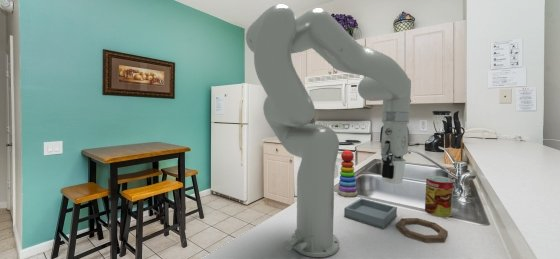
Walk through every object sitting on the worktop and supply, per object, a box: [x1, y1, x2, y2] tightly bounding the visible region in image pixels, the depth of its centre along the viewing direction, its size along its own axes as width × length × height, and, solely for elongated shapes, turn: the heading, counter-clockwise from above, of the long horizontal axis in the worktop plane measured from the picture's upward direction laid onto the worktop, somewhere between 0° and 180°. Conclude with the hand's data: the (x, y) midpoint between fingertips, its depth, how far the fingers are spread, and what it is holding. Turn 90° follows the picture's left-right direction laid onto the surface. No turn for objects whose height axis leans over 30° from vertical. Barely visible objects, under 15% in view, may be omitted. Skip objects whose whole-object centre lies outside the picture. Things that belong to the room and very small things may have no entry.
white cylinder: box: [381, 157, 406, 185], centre depth 76 cm, size 7×7×7 cm
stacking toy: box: [337, 149, 358, 198], centre depth 103 cm, size 8×8×19 cm
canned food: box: [424, 175, 455, 218], centre depth 85 cm, size 8×8×12 cm
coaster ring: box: [395, 217, 449, 244], centre depth 72 cm, size 12×12×1 cm
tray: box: [343, 197, 398, 230], centre depth 82 cm, size 13×13×3 cm
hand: (392, 175), depth 76 cm, fingers closed on white cylinder, 6 cm apart
